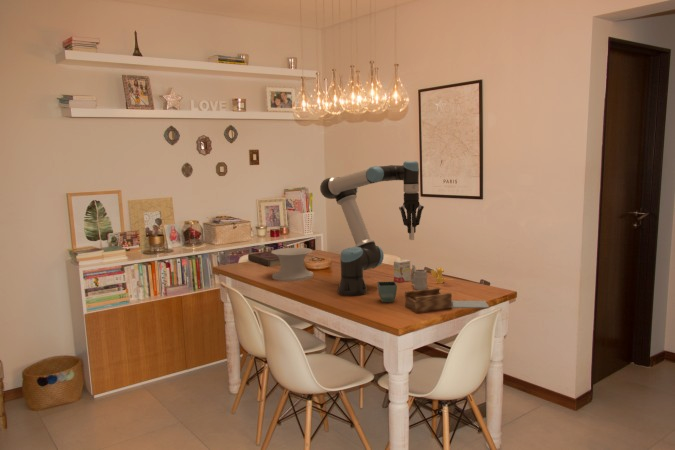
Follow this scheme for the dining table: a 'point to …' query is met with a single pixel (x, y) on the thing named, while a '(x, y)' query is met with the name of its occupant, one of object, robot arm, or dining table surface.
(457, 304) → the lid
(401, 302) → the dining table surface
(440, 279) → the figurine
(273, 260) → the book
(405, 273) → the ink box
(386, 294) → the flower pot
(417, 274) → the mug
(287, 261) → the grey spool stand
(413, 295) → the box
